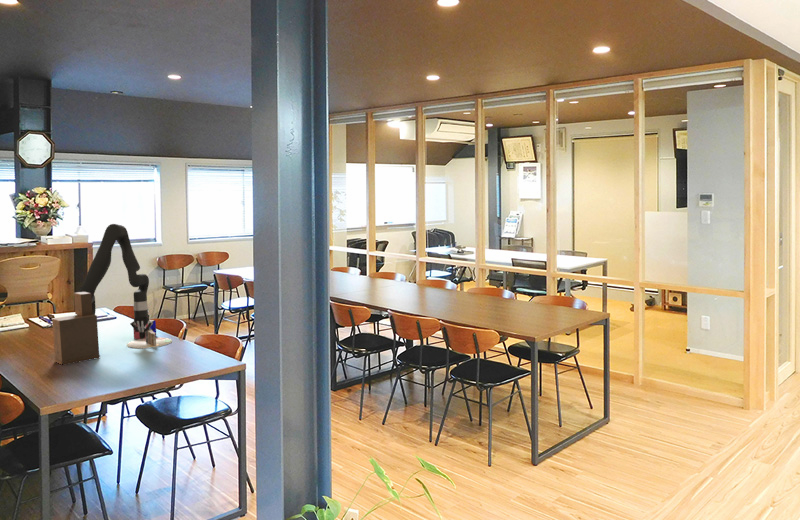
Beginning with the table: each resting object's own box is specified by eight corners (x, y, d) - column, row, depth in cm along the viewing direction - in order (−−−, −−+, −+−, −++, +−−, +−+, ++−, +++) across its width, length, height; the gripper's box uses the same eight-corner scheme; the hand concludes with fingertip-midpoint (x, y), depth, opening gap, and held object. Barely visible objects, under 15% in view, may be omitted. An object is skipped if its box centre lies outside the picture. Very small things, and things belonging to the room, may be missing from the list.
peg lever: (145, 341, 371) (144, 329, 370) (152, 340, 373) (151, 328, 372) (151, 346, 359) (150, 333, 358) (158, 345, 361) (158, 332, 360)
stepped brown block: (89, 353, 347) (85, 291, 344) (99, 357, 338) (95, 293, 334) (52, 360, 334) (47, 295, 330) (61, 365, 324) (57, 298, 320)
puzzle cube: (149, 339, 382) (149, 323, 381) (133, 339, 382) (132, 323, 381) (156, 335, 392) (155, 319, 391) (140, 335, 392) (139, 320, 391)
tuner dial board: (131, 350, 353) (131, 349, 353) (122, 342, 374) (122, 341, 373) (177, 344, 368) (177, 342, 367) (165, 336, 388) (165, 335, 388)
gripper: (126, 310, 356) (128, 339, 358) (149, 309, 356) (151, 339, 357) (132, 307, 363) (134, 337, 365) (154, 307, 363) (156, 336, 365)
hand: (142, 338), depth 361 cm, fingers closed
